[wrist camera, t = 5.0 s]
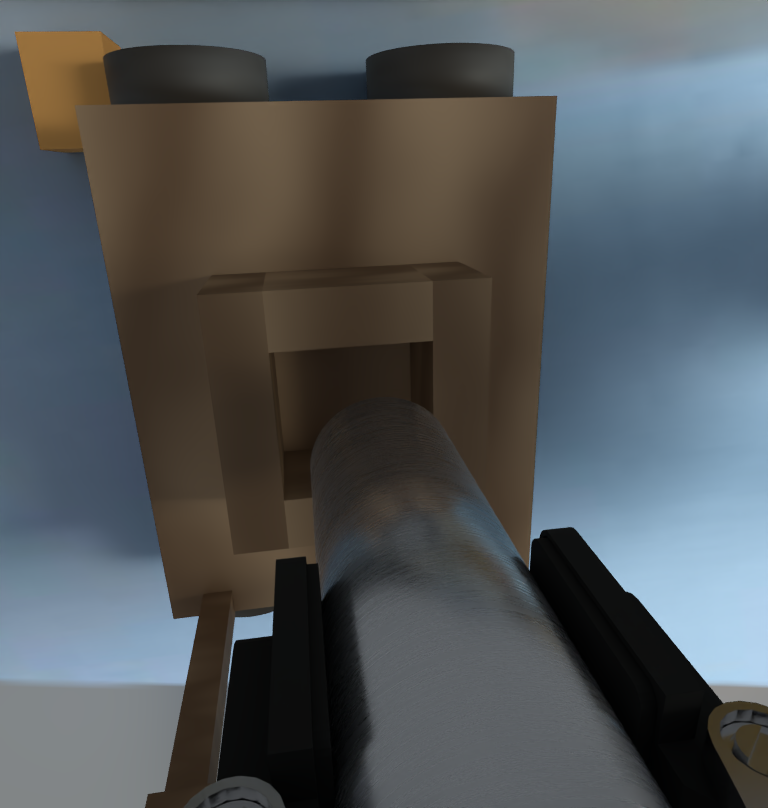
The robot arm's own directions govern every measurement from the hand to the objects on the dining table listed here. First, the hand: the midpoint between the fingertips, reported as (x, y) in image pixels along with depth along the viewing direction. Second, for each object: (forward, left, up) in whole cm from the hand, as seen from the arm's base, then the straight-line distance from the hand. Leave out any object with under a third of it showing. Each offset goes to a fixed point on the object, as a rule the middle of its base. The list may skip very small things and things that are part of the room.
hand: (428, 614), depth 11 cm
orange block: (+10, -11, -22) cm, 26 cm away
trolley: (0, 0, -22) cm, 22 cm away
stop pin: (0, 0, -6) cm, 6 cm away
